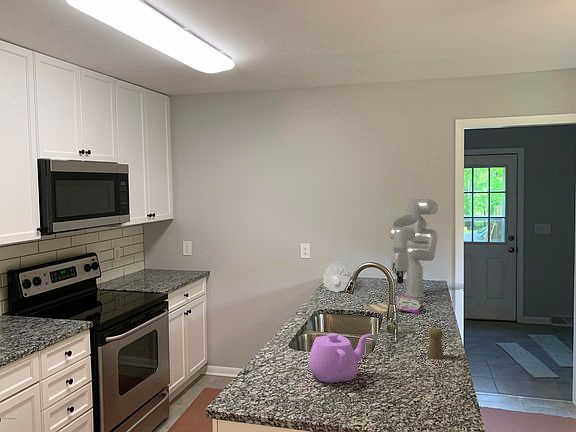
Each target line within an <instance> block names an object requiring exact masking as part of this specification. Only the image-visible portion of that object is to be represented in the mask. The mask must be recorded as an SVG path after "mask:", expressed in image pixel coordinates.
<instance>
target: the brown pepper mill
mask: <svg viewBox="0 0 576 432" xmlns="http://www.w3.org/2000/svg"><path fill="white" fill-rule="evenodd" d="M443 335H444V334H443V331H442V329H439V328H430V329H429V330H428V336H429V343H428V350H427V358H428V359H431V360H443V359H444V351H443V343H442V342H443V341H442V338H443Z"/></svg>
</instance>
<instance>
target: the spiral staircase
mask: <svg viewBox="0 0 576 432" xmlns="http://www.w3.org/2000/svg"><path fill="white" fill-rule="evenodd" d="M350 270H351V266H350V265H349V262H347V263H346V262H345V261H343V260H341V261H338V260H337V261H336V260H334V262H332V263H330V264H329V265H328V266H327V267H326V268H325V270H324V271H325V272H323V274H322V278H323V280H322V283H323V285H324V288H326V289H328V291H329V292H330V293H331V292H335V293H339V292H343V291H345V289H346V288H347V287H348V286H347V284H348V282H349V281H350V279H351V280H352V278H351V277H352V274H353V273H352V272H351V271H350ZM350 282H351V281H350ZM350 282H349V283H350ZM346 286H347V287H346Z"/></svg>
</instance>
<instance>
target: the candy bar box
mask: <svg viewBox="0 0 576 432" xmlns="http://www.w3.org/2000/svg"><path fill="white" fill-rule="evenodd" d="M395 303H396V306H397V307H398V310H401V311H405V312H408V313H409V312H410V313H413V314H419V313H420V310H421V303H420V301H419V300H418V298H413V297H408V296H405V295H404V294H398V293H397V297H396V302H395Z"/></svg>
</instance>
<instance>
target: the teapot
mask: <svg viewBox="0 0 576 432" xmlns="http://www.w3.org/2000/svg"><path fill="white" fill-rule="evenodd" d="M371 335H372V333H366V334H363V335H362V336H361V337H360V338H359V340H358V343H357V346H356V348H355V349H354V348H353V347H354V346H353V345H352V342H351V341H350V339H348V338H347V337H345V336H343V335H340V334H338V333H335V332H330V333H328V334H327V335H321V336H320V335H319V336H316V337H315V339H314V340H313V341H314V342H313V343H312V346H311V349H310V353H309V359H308V367H309V371H310V372H311V373H312V375H313V376H314V377H315V379H317V380H318V381H320V382H324V383H339V382H347V381H351V380H355V378H356V377H357V374H358V371H359V368H358V367H359V364H358V363H360V362H361V360H362V358H363V356H364V350H365V344H366V341H367V339H368V338H369V337H370V336H371Z"/></svg>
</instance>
